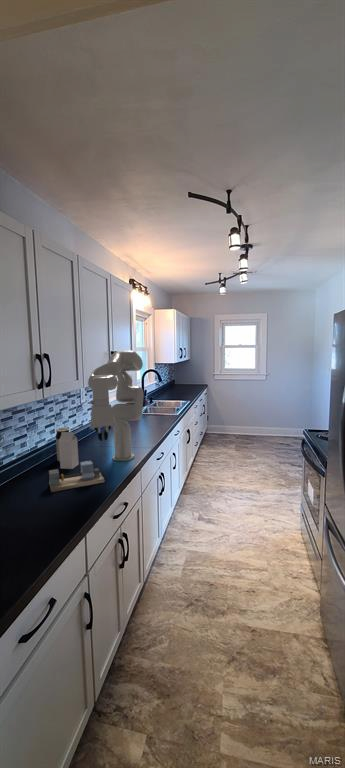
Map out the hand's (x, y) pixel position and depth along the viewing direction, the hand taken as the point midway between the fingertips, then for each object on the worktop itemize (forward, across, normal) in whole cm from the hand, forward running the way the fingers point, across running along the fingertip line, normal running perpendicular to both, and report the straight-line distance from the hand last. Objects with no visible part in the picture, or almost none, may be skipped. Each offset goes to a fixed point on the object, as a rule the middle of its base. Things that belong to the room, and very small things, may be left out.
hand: (103, 439), depth 168 cm
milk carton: (+19, -14, +26) cm, 35 cm away
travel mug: (+19, -14, +40) cm, 47 cm away
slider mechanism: (+19, -14, 0) cm, 23 cm away
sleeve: (+17, -8, 0) cm, 19 cm away
